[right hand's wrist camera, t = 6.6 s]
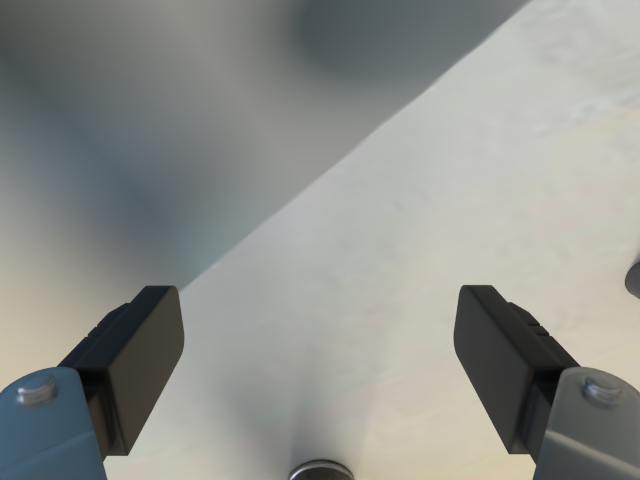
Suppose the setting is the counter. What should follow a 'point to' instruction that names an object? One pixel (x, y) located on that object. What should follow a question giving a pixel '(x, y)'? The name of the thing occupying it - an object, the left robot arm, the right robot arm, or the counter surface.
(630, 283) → the grey cylinder
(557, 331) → the counter surface
